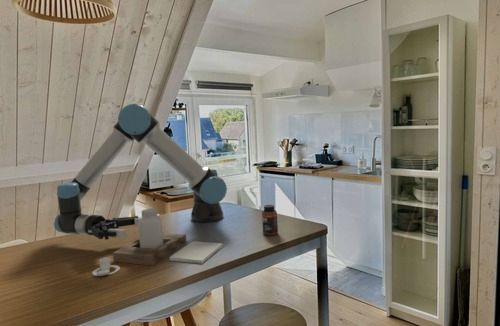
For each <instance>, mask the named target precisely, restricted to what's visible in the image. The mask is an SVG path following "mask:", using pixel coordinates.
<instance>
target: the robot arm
mask: <svg viewBox="0 0 500 326" xmlns="http://www.w3.org/2000/svg"><path fill="white" fill-rule="evenodd" d="M112 128H113V130H112V132H111V133H110V135H109V136H108V137H107V138H106V140H105V141H104V142H103V143H102V144H101V145H100V147H99V148H98V149H97V151H96V152H95V153H94V154H93V155H92V156H91V157H90V158H89V160H88V161H87V163H86V164H84V166H83V168H81V170H80V171H78V173H77V175H76V176H75V177H74V178H72V181H70V182H66V183H60V184H58V185H57V186H56V196H57V203H58V210H59V214H58V215H57V216H56V217H55V219H54V222H53V226H54V229H55V230H56V231H57V232H59V233H64V234H67V235H68V234H72V235H73V234H75V235H85V236H86V237H88V236H94V237H95V238H97V239H99V240H103V239H104V240H109V239H110V238H119V239H126V238H127V232H126V229H121V228H120V227H127V226H136V227H137V226H138V222H139V220H140V219H141V218H142V217H139V216H138V215H134V216H124V217H113V218H110V219H109V218H107V219H106V218H105V217H104V216H103V215H99V214H84V213H83V214H82V203H81V201H82V199H83V198H85V196H86V194H87V193H88V192H89V191H90V190H91V188H92V187H93V186H94V184H95V183H96V182H97V181H98V180H99V178H100V177H101V176H102V175H103V174H104V172H105V171H107V169H108V168H109V166H110V165H111V164H112V163H113V161H114V160H115V159H116V158H117V157H118V155H120V153H121V152H122V150H124V148H125V147H126V146H127V145H128V143H130V142H134V141H136V142H137V143H138V144H145V145H146V146H148V148H150V149H151V150H152V151H153V152H154V153H156V154H157V155H158V156H159V157H160V159H162V160H163V161H164V162H165V163H167V164H168V165H169V166H170V167H171V168H173V170H174V171H176V172H177V173H178V174H179V175H180V176H181V177H182V178H183V179H184V180H185V181H187V182H188V188H190V189H191V190H192V194H193V206H192V210H191V213H190V214H191V215H190V219H191V221H193V222H196V223H211V222H215V221H219V220H222V219H223V218H224V211H223V209H222V206H221V203H220V202H222V201H223V200H224V198H225V197H226V194H227V193H228V192H227V191H228V188H227V184H226V182H225V180H224V179H223V178H221V177H219V175H218V171H217V169H211V168H209V166H203V165H201V164H200V163H199V162H197V160H195V158H193V157H192V156H191V155H190V154H189V153H188V152H187V151H185V149H184V148H182V147H181V145H179V144H178V143H177V142H176V141H175V140H174V139H173V138H172V137H171V136H169V134H167V133H166V132H165V131H164V130H163V129H162V128H161V126H160V121H159V120H157V118H155V117H154V116H153V115H152V114H151V113H150V111H149V110H148V109H147V108H146V107H145V106H144V105H141V104H138V103H130V104H127V105H125V106H124V107H122V109H120V111H119V114H118V116H117V122H116V124H115V125H114V126H113V127H112ZM138 227H139V226H138ZM119 228H120V229H119Z"/></svg>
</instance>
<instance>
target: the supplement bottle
mask: <svg viewBox="0 0 500 326" xmlns="http://www.w3.org/2000/svg"><path fill="white" fill-rule="evenodd" d="M261 222H262V224H261V225H262V234H263V235H265V236H270V237H272V236H275V235H277V234H278V233H279V226H278V212H277V210H275V205H274V204H265V205H264V206H263V211H261Z"/></svg>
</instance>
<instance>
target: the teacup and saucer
mask: <svg viewBox="0 0 500 326" xmlns="http://www.w3.org/2000/svg"><path fill="white" fill-rule="evenodd" d="M99 265H100V266H99V267H97V268H96V269H94V270H93V271H92V272H91V273H92V275H93V276H96V277H103V276H104V277H105V276H109V275H113V274H116V272H117V273H118V271H119V270H120V269H121V268H120V265H116V264H111V258H110V257H103V258H100V259H99ZM111 268H115V270H113V271H112V272H111V271H110V270H111Z"/></svg>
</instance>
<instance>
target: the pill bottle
mask: <svg viewBox="0 0 500 326" xmlns="http://www.w3.org/2000/svg"><path fill="white" fill-rule="evenodd" d="M140 218H141V219H140V220H139V222H138V235H139V236H138V237H139V239H140V248H148V249H156V248H158V247H160V246H161V245H163V234H162V233H163V221H162V217H160V216H158V209H157V208H145V209H142V210H141V217H140Z"/></svg>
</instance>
